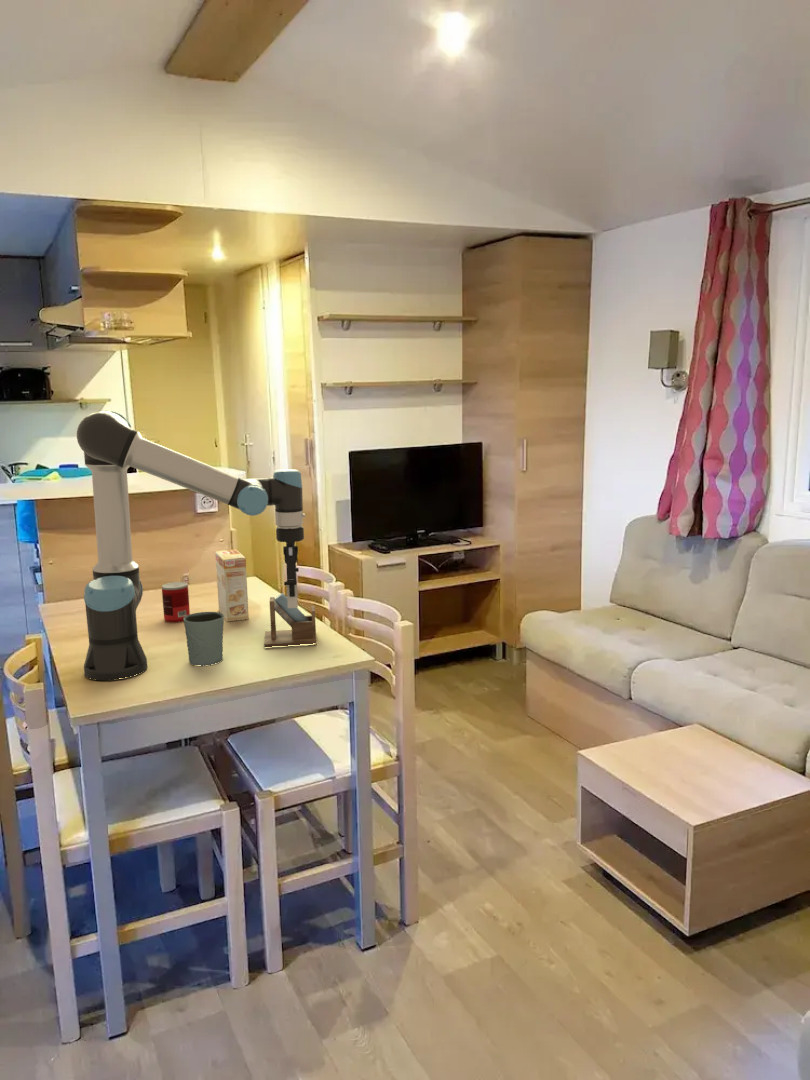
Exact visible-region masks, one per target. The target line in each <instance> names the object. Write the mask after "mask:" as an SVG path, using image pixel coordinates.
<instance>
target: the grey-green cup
mask: <svg viewBox="0 0 810 1080" xmlns="http://www.w3.org/2000/svg"><path fill="white" fill-rule="evenodd" d="M183 620H184V621H183V625H184V631H185V632H184V633H185V637H186V647H187V651H188V652H187V654H188V661H189V664H190V663H191V664H193V665H192V666H194V665H201V666H200V667H206V666H205V665H210V666H212V665H211V664H215V663H218V662H220V661H221V660H222V661H223V658H224V657H223V652H224V650H223V649H224V646H223V645H224V643H223V642H224V621H225V618H224V615H223V614H221V612H217V611H204V612H203V611H202V612H200V611H199V612H195V613H190V615H187V616H185V617H184V618H183ZM222 661H221V662H222ZM221 662H220V663H221ZM191 664H190V665H191ZM218 664H219V663H218ZM203 665H204V666H203ZM215 665H216V664H215Z"/></svg>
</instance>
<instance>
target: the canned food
mask: <svg viewBox="0 0 810 1080" xmlns="http://www.w3.org/2000/svg"><path fill="white" fill-rule="evenodd" d="M189 594H190V593H189V585H188V583H187V582H183V581H173V582H167V583H165V584H163V585H161V596H162V597H161V598H162V606H163V608H162V610H163V618H164V621H165V622H166V623H170V624H171V623H172V624H174V623H175V624H176V623H182V622H183V623H184V620H183V618H184V617H185V616H187V615H190V614H191V611H190V597H189V596H190V595H189Z"/></svg>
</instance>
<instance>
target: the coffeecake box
mask: <svg viewBox="0 0 810 1080" xmlns="http://www.w3.org/2000/svg"><path fill="white" fill-rule="evenodd" d="M214 553H215V554H214V555H215V570H216V585H217V586H216V588H217V601H218V602H217V603H218V604H217V605H218V611H219V613H221V614H223V615H224V620H225V621H226V622H228V621H229V622H235V621H236V620H237V621H244V620H245V619H246V620H249V619H250V617H249V613H250V612H249V599H248V598H249V597H248V596H249V595H248V576H247V575H248V574H247V558H246V557H245V556H244V555H243V554H242V553H241V552H239V551H238V550H237V549H235V548H233V549H223V550H215V552H214ZM246 620H245V621H246Z"/></svg>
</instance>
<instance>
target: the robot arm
mask: <svg viewBox="0 0 810 1080" xmlns="http://www.w3.org/2000/svg"><path fill="white" fill-rule="evenodd" d="M76 440H77V443H78V445H79V447H80V449H81V450H82V451H83V457H84V459H83V460H84V466H85V467H86V468H87V469H89V470H90V471H91V479H92V480H91V481H92V493H93V494H92V496H93V507H94V521H95V534H96V535H95V536H96V547H97V563H96V564H95V565H94V566H93V567H92V580H91V581H89V582H88V583H86V585H85V587H84V594H83V600H84V604H85V614H86V623H87V625H86V626H87V634H88V635H87V637H88V649H87V651H86V656H85V661H84V664H83V674H84V677H85V676H86V677H88V678H91V679H96V680H113V681H115V680H114V679H119V678H125V677H130V676H133V677H135V676H134V675H136V674H139V673H141V672H142V673H144V672H145V671H147V669H148V658H147V656H146V654H145V652H144V649H143V646H142V645H141V643H140V640H139V637H138V636H139V635H138V624H137V608H138V606H139V605H140V603H141V601H142V597H143V594H144V590H143V584H142V581H141V576H140V575H141V574H140V566H139V564H138V563H137V562H136V561H135V560H134V559H133V547H132V544H133V543H132V532H131V531H132V530H131V515H130V498H129V497H130V496H129V483H128V469H129V468H130V467H131V468H134V469H136V470H139V471H141V472H144V473H146V474H149V475H150V476H154V477H157V478H159V479H162V480H164V481H167V482H169V483H171V484H174V485H178V486H179V487H182V488H185V489H187V490H189V491H192V492H195V493H197V494H200V495H203V496H205V497H207V498H210V499H212V500H215V501H218V502H221V503H223V504H225V505H228V506H230V507H233V508H234V509H238V510H240V511H241V512H242V513H243V514H245V515H247V516H253V517H254V516H258V515H260V514H262V513H263V512H265V510H266V508H267V507H268V506H270V507H271V506H274V519H275V520H274V521H275V526H277V527H276V528H275V532H276V533H275V535H276V536H275V537H276V540H277V542H280V543H286V544H285V545H284V546H283V551H282V552H283V556H284V563H285V564H286V581H285V582H283V583H284V584H283V585H284V586H286V597H287V604H288V608H298V609H299V607H298V606H299V605H298V601H299V600H298V576H297V574H298V572H299V570H300V569H299V567H297V565H296V564H298V553H299V549H298V547H299V546H298V545H296V542H298V543H299V542H302V541H303V540H304V539H305V534H304V531H305V530H304V526H303V524H304V518H306V514H305V513H303V510H304V508H303V506H304V503H303V482H302V473H301V471H299V469H294V468H292V469H291V468H288V469H287V468H285V469H284V468H283V469H275V470H274V471H273V475H272V477H267V478H266V477H265V478H259V477H258V478H243V477H242V478H241V477H239V476H237V475H234V474H231V473H229V472H226V471H225V470H222V469H220V468H216V467H214V466H212V465H210V464H207V463H204V462H202V461H199V460H197V459H195V458H192V457H190V456H187V455H185V454H182V453H180V452H178V451H175V450H173V449H170V448H168V447H166V446H163V445H160V444H158V443H156V442H154V441H151V440H148V439H146V438H143V437H142V434H141V433H140V432H139V431H138V430H135V429H133V428H132V426H131V423H130V422H129V421H128V420H127V418H126V417H124V416H123V415H122V414H120V413H118V412H116V411H112V410H110V411H109V410H101V411H100V410H99V411H97V412H94V413H93V412H92V413H90V414H88V415H87V416H85V417H84V418H83V419H82V420H81V421H80V423H79V424H78V427H77V429H76ZM143 671H144V672H143ZM142 673H141V674H142ZM139 675H140V674H139ZM136 676H137V675H136ZM86 677H85V678H86ZM88 678H87V679H88ZM130 678H131V677H130ZM91 679H90V680H91ZM96 680H95V681H96Z"/></svg>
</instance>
